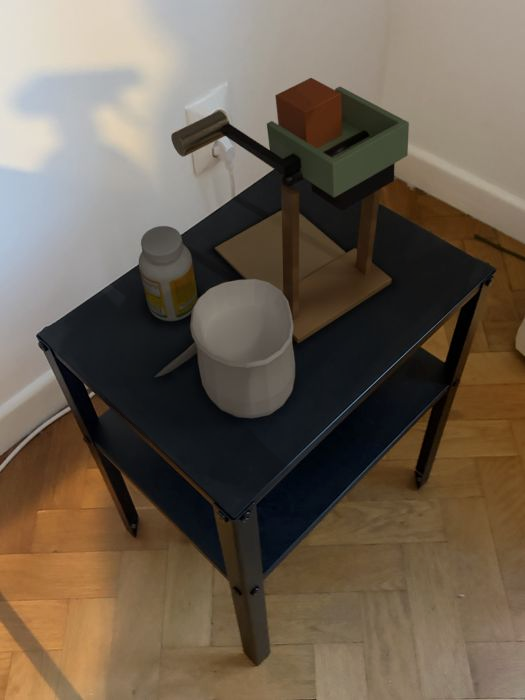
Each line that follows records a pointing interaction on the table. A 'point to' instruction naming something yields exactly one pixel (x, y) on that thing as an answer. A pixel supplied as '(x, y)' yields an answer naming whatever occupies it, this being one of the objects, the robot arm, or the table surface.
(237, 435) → the table surface
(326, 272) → the scoop stand
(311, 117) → the block
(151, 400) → the table surface
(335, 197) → the tilting tray
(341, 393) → the table surface
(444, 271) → the table surface
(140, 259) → the supplement bottle
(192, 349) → the pocket knife
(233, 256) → the mat
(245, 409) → the cup
